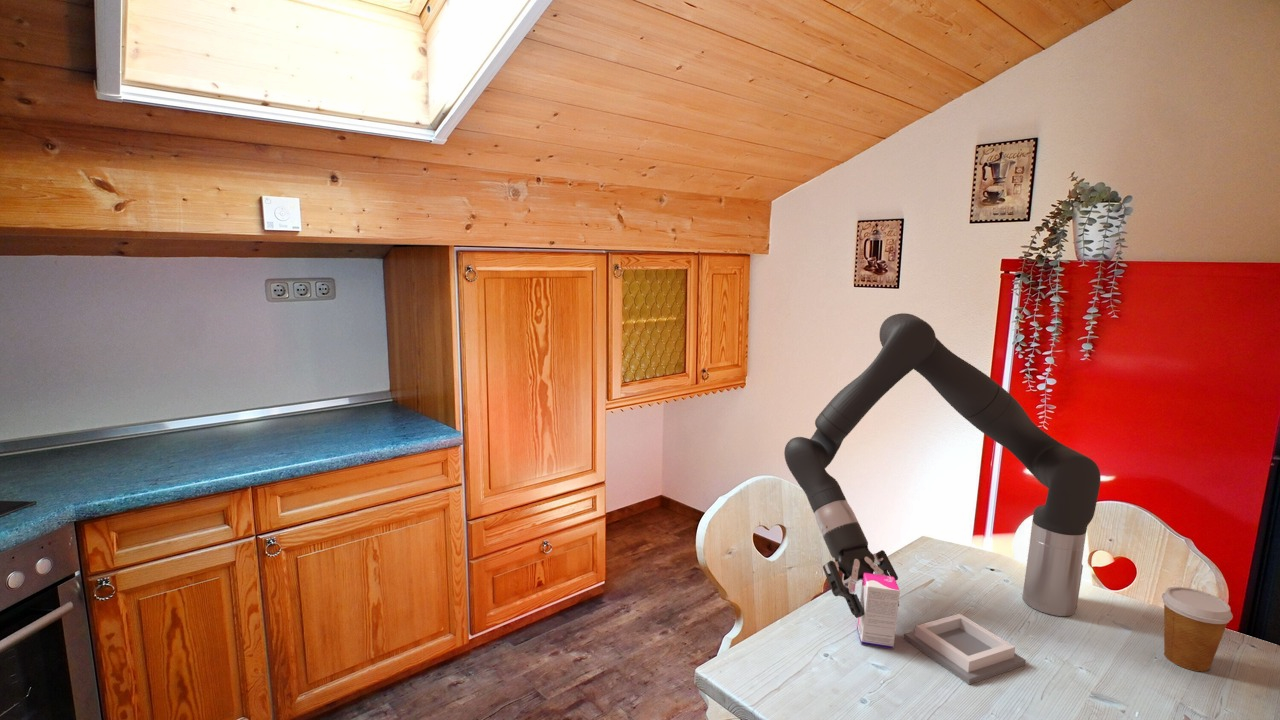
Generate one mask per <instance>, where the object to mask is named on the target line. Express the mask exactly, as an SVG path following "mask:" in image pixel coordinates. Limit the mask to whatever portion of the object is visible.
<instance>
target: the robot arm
mask: <svg viewBox="0 0 1280 720" xmlns="http://www.w3.org/2000/svg"><path fill="white" fill-rule="evenodd" d="M878 336H879V341H880V344H881V346H882V348H881V349H880V350H879V352H878V353H877V356H876V357H875V358H874V360H873V361H872V362H871V363H870V364H869V366H868V367H867V368H866V369H864V371H863V372H862V373H861V374H859V375H858V376H857V377H856V378H855V379H853V380H852V381H851V382H849V383H848V384H847V385H845V386H844V387H843V388H842V389H841V390H840V391H838V393H836V394H835V396H834V397H833V398H832V399H831V400H830V401H829V402H828V404H826V406H825V407H824V408H823V410H822V411H821V412H820V413H819V414H818V416H817V417H816V418H815V420H814V421H815V422H814V425H815V428H816V430H815V431H814V433H813V434H812V436H811V437H810V438H807V437H803V436H797V437H793V438H791V439H789V441H787V443H786V444H785V447H784V452H783V453H784V459H785V462H786V463H785V464H786V466H787V468H788V469H789V471H790V473H791V474H792V476H793V478H794V479H795V481H796V482H797V484H798V485H799V487H800V488H801V489H802V491H803V492H804V493H805V495H806V498H807V500H808V503H809V505H810V508H811V509H812V510H811V511H812V513H813V515H814V517H815V520H816V524H817V527H818V529H819V531H820V533H821V536H822V538H823V540H824V544H825V545H826V547H827V549H828V551H829V555H830V556H831V557H832V558H834V561H833V560H830V561H828V562H827V563H825V564H824V565H822V569H823V572H824V575H825V577H826V579H827V582H828V585H829V587H830V590H831V592H832V594H833V596H834V597H842V598H843V599H845V601H846V603H847V606H848V608H849V611H850V612H851V614H852V615H853V616H854V617H855V618H856V619H858V618H859V617H862V616H863V615H865V612H864V610H863V608H862V605H861V603H860V599H859V596H858V594H857V593H855V592H856V584H857V583H858V581H860V580H861V581H863V573H870V574H877V575H885V576H892V577H894V578H895V580H896V581H898V580H899V577H898V574H897V573H896V570H895V568H894V567H893V565H892V563H891V561H890V559H889V557H888V555H887V553H886V552H885V551H884V550H883V549H881V550H879V551H878V552H874V553H872V552H871V550H870V549H869V542H868V540H867V538H866V536H865V533H864V531H863V528H862V526H861V525H860V523H859V520H858V519H857V517H856V513H855V512H854V510H853V509H852V507H851V505H850V504H849V503H848V501H847V499H846V497H845V494H844V492H843V490H842V488H841V485H840V484H839V483H838V481H837V480H836V479H835V477H833V476H832V475H830V474H829V473H828V472H827V470H826V468H827V467H828V466H829V465H830V464H831V463H832V461H833V460H834V458H835V456H837V455H836V454H837V453H838V451H839V449H840V448H841V446H842V443H843V441H844V439H846V437H847V436H848V435H849V434H850V433H851V432H852V431H853V430H854V429H855V427H856V426H857V425H858V424H859V423H860V422H861V421H862V420H863V418H864V417H865V416H866V414H867V413H869V411H870V410H871V409H872V408H873V407H874V406H875V405H876V404H877V403H878V401H880V400H881V398H882V397H883V396H885V395H886V394H887V393H888V392H889V391H890V390H891V389H892V388H893V387H894V386H895V385H896V384H897V383H899V382H900V381H901V380H902V379H903V378H904V377H906V375H908V374H909V373H910V372H912V370H914V371H915V372H917V373H918V374H920V376H922V377H923V378H925V380H926V381H927V382H928V383H930V385H931V386H932V387H933V388H934V389H935V390H936V392H937V393H939V395H940V396H941V397H942V398H943V399H944V400H945V401H946V402H947V403H948V404H949V405H950V406H951V407H952V408H953V409H954V410H955V411H956V412H957V413H958V414H959V415H960V416H962V417H963V418H964V419H965V420H966V421H968V422H969V424H971V425H973V426H974V427H975V428H976V429H978V430H979V431H980V432H982V433H983V434H984V435H986V437H988V438H990V439H991V440H993V441H995V442H996V443H998V444H999V445H1001V446H1002V447H1004V448H1005V449H1006V450H1008V451H1009V452H1010V453H1011V454H1012V455H1013V456H1015V458H1017V459H1016V460H1018V461H1019V462H1020V463H1021V464H1022V466H1023V465H1024V467H1025V468H1026V469H1027V470H1028V472H1030V473H1031V475H1032V476H1033V477H1034V478H1035V479H1036V480H1038V482H1039V483H1040V484H1041V485H1043V486H1045V487H1046V488H1047V489H1048V490H1047V494H1046V495H1047V496H1046V500H1045V504H1042V505H1037V506H1036V507H1035V509H1034V510H1033V514H1032V523H1031V530H1030V539H1029V544H1028V545H1029V546H1028V552H1027V553H1028V554H1027V560H1026V561H1027V562H1026V569H1025V575H1024V585H1023V590H1022V600H1023V602H1024V603H1025V604H1026V605H1028V606H1029V607H1030V608H1032V609H1034V610H1036V611H1038V612H1041V613H1044V614H1048V615H1052V616H1059V617H1069V616H1072V615H1073V614H1075V612H1076V608H1077V607H1078V602H1079V596H1080V590H1081V584H1082V583H1081V582H1082V574H1083V568H1084V565H1083V558H1084V551H1085V544H1086V538H1087V537H1086V535H1087V530H1088V526H1089V524H1090V523H1091V522H1092V521H1093V518H1094V516H1095V511H1096V508H1097V502H1098V497H1099V493H1100V488H1101V472H1100V468H1099V466H1098V464H1097V463H1096V462H1095V461H1094V460H1093V459H1092V458H1090V457H1088V456H1087V455H1084V454H1083V453H1081V452H1078V451H1077V450H1075V449H1073V448H1071V447H1069V446H1066V445H1065V444H1063V443H1061V442H1060V441H1058V440H1057V439H1055V438H1053V437H1052V436H1051V435H1049V434H1048V433H1047V432H1045V431H1044V430H1043V429H1041V428H1040V427H1038V426H1037V425H1036V423H1034V422H1033V421H1032V419H1031V418H1030V417H1029V415H1028V414H1027V411H1025V409H1024V408H1023V406H1022V405H1021V404H1020V402H1019V401H1018V400H1017V399H1016V398H1015V397H1014V396H1013V395H1012V394H1011V393H1009V391H1008V390H1006V389H1005V388H1004V387H1002V386H1001V385H1000V384H998V383H997V381H995V380H994V379H992V378H991V377H990V376H988V375H987V374H986V373H984V372H983V371H981V370H980V369H979V368H977V367H975V366H974V365H973V364H971V363H969V362H968V361H966V360H964V359H963V358H961V357H959V356H958V355H957V354H955V353H953V352H952V351H951V349H949V348H948V347H946V346H945V345H944V343H942V342H941V340H939V339H938V338H937V337H936V332H935V329H934V328H933V327H932V326H931V325H930V324H929V322H927V321H926V320H924V319H922V318H920V317H918V316H916V315H914V314H911V313H905V312H904V313H903V312H902V313H896V314H893V315H890V316H889V317H887V318H886V319H884V321H883V322H882V324H881V325H880V329H879V335H878ZM839 572H841V573H842V577H841V575H840V573H839ZM899 607H900V603H899V604H898V608H899Z"/></svg>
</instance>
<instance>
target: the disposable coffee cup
mask: <svg viewBox="0 0 1280 720" xmlns="http://www.w3.org/2000/svg"><path fill="white" fill-rule="evenodd" d="M1161 599H1162V602H1163V604H1164V605H1163V607H1164V610H1163V614H1164V616H1163V620H1164V622H1163V626H1164V629H1163V634H1164V637H1163V638H1164V641H1163V642H1164V643H1163V644H1164V645H1163V649H1164V652H1163V655H1164V657H1165V658H1167V660H1168V661H1170V662H1171V663H1173V664H1175V665H1176V664H1177V666H1179V667H1181V668H1183V669H1186V670H1189V669H1190V671H1193V670H1194V672H1199V671H1201V673H1203V671H1206V672H1208V671H1207V670H1209V669H1210V670H1211V666H1212V663H1213V661H1214V659H1215V656H1216V653H1217V651H1218V648H1219V646H1220V642H1222V637H1224V633H1225V630H1226V628H1227V625H1228V623H1230V621H1231V620H1233V618H1234V616H1233V613H1232V612H1231V606H1230V605H1229V603H1227V602H1226V601H1225V600H1223V599H1221V598H1220V597H1217V596H1215V595H1213V594H1211V593H1208V592H1205V591H1202V590H1198V589H1194V588H1190V587H1182V586H1170V587H1168V588H1167V589H1166V590H1165V592H1164V593H1162V594H1161ZM1210 670H1209V671H1210Z"/></svg>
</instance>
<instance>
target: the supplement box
mask: <svg viewBox="0 0 1280 720" xmlns="http://www.w3.org/2000/svg"><path fill="white" fill-rule="evenodd" d="M861 582H862V583H861V584H862V585H861V590H860V591H861V592H860V599H859V601H860V603H861V605H862V608H863V610H864V612H865V615H863V616H862V617H859V618H857V626H856V627H857V629H856V630H857V632H858V638H859V640H860V644H861V645H864V646H870V647H875V648H883V649H890V650H892V649H894V645H895V637H896V630H897V629H896V628H897V620H898V619H897V618H898V611H899V607H898V604H899V605H900V593H901V591H900V587H899V585H898V583H897V580H895V578H894V577H892V576H890V575H889V576H885V575H877V574H875V573H873V574H870V573H863V580H861Z"/></svg>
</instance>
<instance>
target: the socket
mask: <svg viewBox="0 0 1280 720" xmlns="http://www.w3.org/2000/svg"><path fill="white" fill-rule="evenodd" d="M903 640H906V641H907V642H908V643H909V642H910V645H912V646H914V647H915V648H916V647H917V648H916V649H918V650H919V651H921V652H923V653H924V654H925V655H926V656H928V657H929V658H931V659H932V660H934V662H936V663H937V664H939V665H940V666H942V667H944V668H945V669H946V670H948V671H949V672H950V673H952V674H953V675H954V676H956V677H957V678H959V679H960V680H962V681H963V682H965V683H966V684H967V685H971V684H974V683H977V682H979V681H983V680H985V679H989V678H992V677H995V676H998V675H1000V674H1003V673H1007V672H1009V671H1012V670H1016V669H1018V668H1022V667H1024V666H1026V659H1025V658H1024V657H1021V656H1020V655H1018V654H1017V653H1015V652H1016V651H1015V650H1016V646H1015V645H1012V644H1011V643H1009V642H1008V641H1006V640H1005V639H1003V638H1001V637H999V636H997V635H996V634H994V633H993V632H991V631H989V630H988V629H986V628H984V627H983V626H982V625H980V624H977V623H976V622H974V621H973V620H971V619H969V618H968V617H966V616H964V615H963V614H961V613H957V614H953V615H950V616H946V617H943V618H939V619H936V620H931V621H928V622H925V623H921V624H917V625H915V629H914V630H911V631H907V632H904V633H903Z"/></svg>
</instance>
